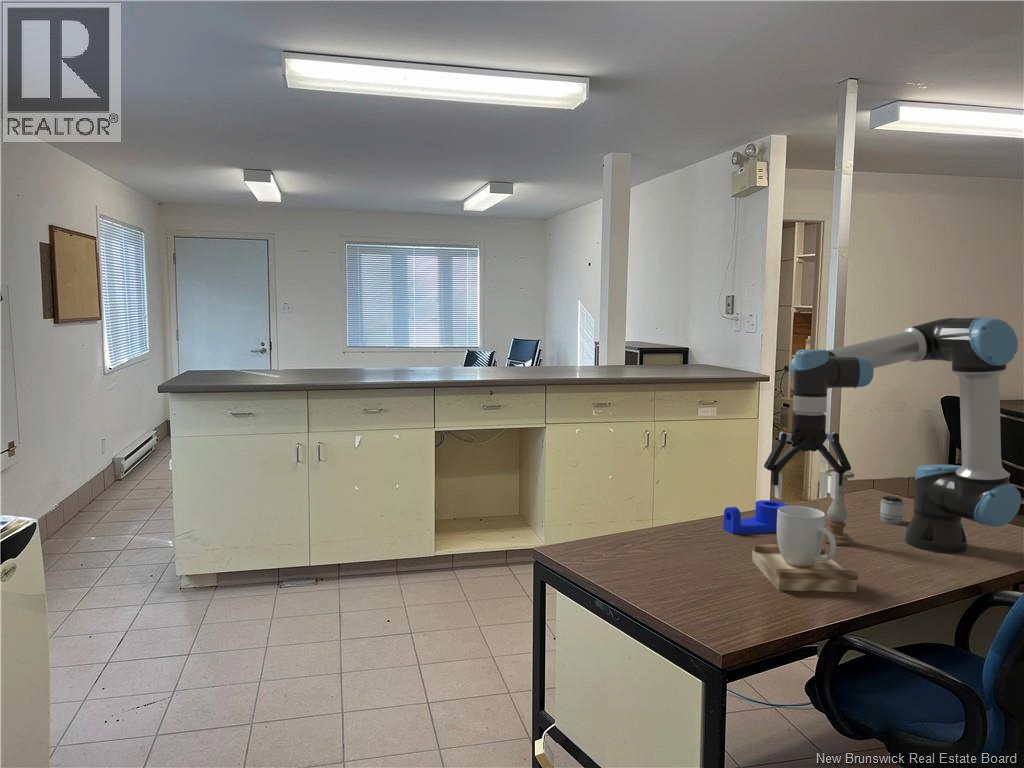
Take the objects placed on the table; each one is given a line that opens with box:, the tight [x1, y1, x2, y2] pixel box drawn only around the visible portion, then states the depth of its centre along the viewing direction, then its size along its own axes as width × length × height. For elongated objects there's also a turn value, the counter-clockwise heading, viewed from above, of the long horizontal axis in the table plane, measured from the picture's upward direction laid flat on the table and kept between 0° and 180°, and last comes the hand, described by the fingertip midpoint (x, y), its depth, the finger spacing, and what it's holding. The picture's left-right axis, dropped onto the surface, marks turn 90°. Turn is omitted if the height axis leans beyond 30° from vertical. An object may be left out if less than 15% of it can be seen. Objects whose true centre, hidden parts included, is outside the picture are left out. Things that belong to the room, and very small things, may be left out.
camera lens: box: [879, 495, 904, 525], centre depth 219 cm, size 6×6×8 cm
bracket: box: [722, 499, 788, 535], centre depth 210 cm, size 20×9×8 cm, turn 107°
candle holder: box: [823, 468, 855, 546], centre depth 199 cm, size 9×9×20 cm
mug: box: [776, 505, 837, 567], centre depth 171 cm, size 15×11×13 cm
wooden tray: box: [751, 543, 859, 593], centre depth 172 cm, size 18×21×4 cm
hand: (806, 498), depth 170 cm, fingers open, 13 cm apart
